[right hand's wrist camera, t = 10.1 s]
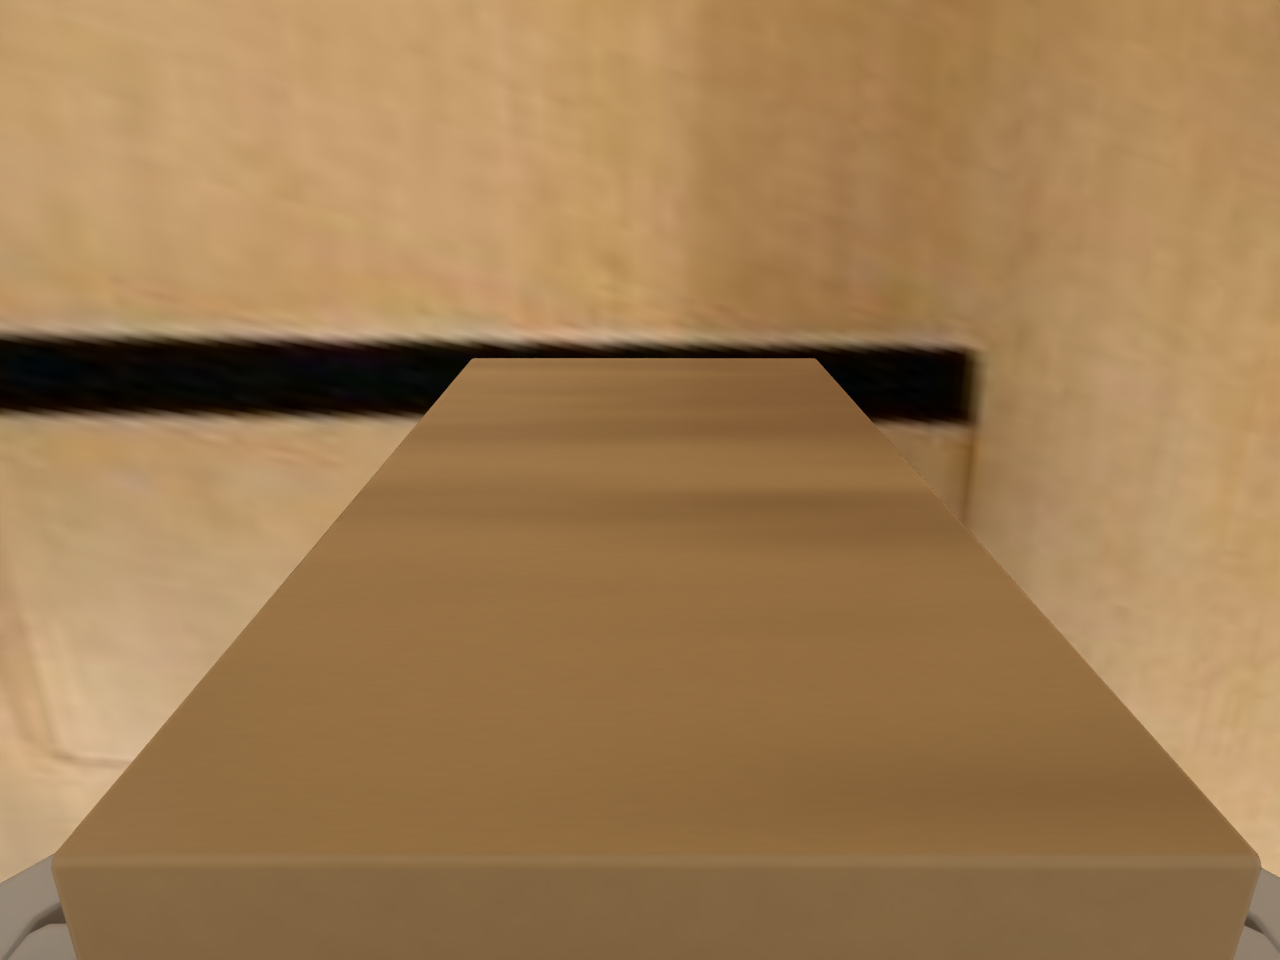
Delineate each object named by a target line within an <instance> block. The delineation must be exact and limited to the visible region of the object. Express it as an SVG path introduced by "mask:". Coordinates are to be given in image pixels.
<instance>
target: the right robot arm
mask: <svg viewBox="0 0 1280 960" xmlns="http://www.w3.org/2000/svg"><path fill="white" fill-rule="evenodd" d="M53 857H54V854H53V855H51V856H49V857H47V858H46V859H44V860H42V861H40V862H38V863H37V864H35V865H33V866H31V867H29V868H28V869H26V870H24V871H22V872H20V873H19V874H17V875H15V876H13V877H11V878H9V879H8V880H6V881H4V882H2V883H0V960H77V957H76V954H75V951H74V947H73V944H72V940H71V937H70V933H69V930H68V927H67V923H66V920H65V916H64V913H63V909H62V906H61V903H60V899H59V896H58V892H57V889H56V885H55V882H54V879H53V875H52V872H51V863H52V859H53ZM1233 960H1280V878H1279V877H1278V876H1276V875H1274V874H1272V873H1270V872H1268V871H1267V870H1265V869H1263V868H1262V869H1261V872H1260V875H1259V878H1258V882H1257V885H1256V888H1255V891H1254V894H1253V898H1252V901H1251V904H1250V907H1249V911H1248V914H1247V917H1246V920H1245V924H1244V927H1243V930H1242V933H1241V937H1240V940H1239V943H1238V946H1237V950H1236V953H1235V956H1234V959H1233Z"/></svg>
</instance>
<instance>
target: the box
mask: <svg viewBox="0 0 1280 960" xmlns="http://www.w3.org/2000/svg"><path fill="white" fill-rule="evenodd" d="M1261 869H1262V868H1261V861H1260V859H1259V856H1258V854H1257V853H1256V852H1255V851H1254V850H1253V849H1252V847H1251V846H1250V845H1249V844H1248V843H1247V842H1246V841H1245V840H1244V838H1243V837H1242V836H1241V835H1240V834H1239V833H1238V832H1237V831H1236V830H1235V828H1234V827H1233V826H1232V825H1231V824H1230V823H1229V822H1228V821H1227V819H1226V818H1225V817H1224V816H1223V815H1222V814H1221V813H1220V812H1219V810H1218V809H1217V808H1216V807H1215V806H1214V805H1213V804H1212V803H1211V801H1210V800H1209V799H1208V798H1207V797H1206V796H1205V795H1204V794H1203V793H1202V791H1201V790H1200V789H1199V788H1198V787H1197V786H1196V785H1195V784H1194V782H1193V781H1192V780H1191V779H1190V778H1189V777H1188V776H1187V775H1186V773H1185V772H1184V771H1183V770H1182V769H1181V768H1180V767H1179V766H1178V764H1177V763H1176V762H1175V761H1174V760H1173V759H1172V758H1171V757H1170V756H1169V754H1168V753H1167V752H1166V751H1165V750H1164V749H1163V748H1162V747H1161V745H1160V744H1159V743H1158V742H1157V741H1156V740H1155V739H1154V738H1153V736H1152V735H1151V734H1150V733H1149V732H1148V731H1147V730H1146V729H1145V728H1144V726H1143V725H1142V724H1141V723H1140V722H1139V721H1138V720H1137V719H1136V717H1135V716H1134V715H1133V714H1132V713H1131V712H1130V711H1129V710H1128V708H1127V707H1126V706H1125V705H1124V704H1123V703H1122V702H1121V701H1120V699H1119V698H1118V697H1117V696H1116V695H1115V694H1114V693H1113V692H1112V691H1111V689H1110V688H1109V687H1108V686H1107V685H1106V684H1105V683H1104V682H1103V680H1102V679H1101V678H1100V677H1099V676H1098V675H1097V674H1096V673H1095V671H1094V670H1093V669H1092V668H1091V667H1090V666H1089V665H1088V664H1087V662H1086V661H1085V660H1084V659H1083V658H1082V657H1081V656H1080V655H1079V654H1078V652H1077V651H1076V650H1075V649H1074V648H1073V647H1072V646H1071V645H1070V643H1069V642H1068V641H1067V640H1066V639H1065V638H1064V637H1063V636H1062V634H1061V633H1060V632H1059V631H1058V630H1057V629H1056V628H1055V627H1054V625H1053V624H1052V623H1051V622H1050V621H1049V620H1048V619H1047V618H1046V617H1045V615H1044V614H1043V613H1042V612H1041V611H1040V610H1039V609H1038V608H1037V606H1036V605H1035V604H1034V603H1033V602H1032V601H1031V600H1030V599H1029V597H1028V596H1027V595H1026V594H1025V593H1024V592H1023V591H1022V590H1021V589H1020V587H1019V586H1018V585H1017V584H1016V583H1015V582H1014V581H1013V580H1012V578H1011V577H1010V576H1009V575H1008V574H1007V573H1006V572H1005V571H1004V569H1003V568H1002V567H1001V566H1000V565H999V564H998V563H997V562H996V560H995V559H994V558H993V557H992V556H991V555H990V554H989V553H988V552H987V550H986V549H985V548H984V547H983V546H982V545H981V544H980V543H979V541H978V540H977V539H976V538H975V537H974V536H973V535H972V534H971V532H970V531H969V530H968V529H967V528H966V527H965V526H964V525H963V523H962V522H961V521H960V520H959V519H958V518H957V517H956V516H955V515H954V513H953V512H952V511H951V510H950V509H949V508H948V507H947V506H946V504H945V503H944V502H943V501H942V500H941V499H940V498H939V497H938V495H937V494H936V493H935V492H934V491H933V490H932V489H931V488H930V486H929V485H928V484H927V483H926V482H925V481H924V480H923V479H922V478H921V476H920V475H919V474H918V473H917V472H916V471H915V470H914V469H913V467H912V466H911V465H910V464H909V463H908V462H907V461H906V460H905V458H904V457H903V456H902V455H901V454H900V453H899V452H898V451H897V449H896V448H895V447H894V446H893V445H892V444H891V443H890V442H889V441H888V439H887V438H886V437H885V436H884V435H883V434H882V433H881V432H880V430H879V429H878V428H877V427H876V426H875V425H874V424H873V423H872V421H871V420H870V419H869V418H868V417H867V416H866V415H865V414H864V413H863V411H862V410H861V409H860V408H859V407H858V406H857V405H856V404H855V402H854V401H853V400H852V399H851V398H850V397H849V396H848V395H847V393H846V392H845V391H844V390H843V389H842V388H841V387H840V386H839V384H838V383H837V382H836V381H835V380H834V379H833V378H832V377H831V376H830V374H829V373H828V372H827V371H826V370H825V369H824V368H823V367H822V365H821V364H820V363H819V362H818V361H817V360H816V359H697V358H474V359H472V360H471V361H470V362H469V363H468V364H467V366H466V367H465V368H464V369H463V370H462V372H461V373H460V374H459V375H458V376H457V377H456V379H455V380H454V381H453V382H452V383H451V385H450V386H449V387H448V388H447V389H446V391H445V392H444V393H443V394H442V395H441V396H440V398H439V399H438V400H437V401H436V402H435V404H434V405H433V406H432V407H431V408H430V410H429V411H428V412H427V413H426V414H425V415H424V417H423V418H422V419H421V420H420V421H419V423H418V424H417V425H416V426H415V427H414V429H413V430H412V431H411V432H410V433H409V434H408V436H407V437H406V438H405V439H404V440H403V442H402V443H401V444H400V445H399V446H398V448H397V449H396V450H395V451H394V452H393V453H392V455H391V456H390V457H389V458H388V459H387V461H386V462H385V463H384V464H383V465H382V466H381V468H380V469H379V470H378V471H377V472H376V474H375V475H374V476H373V477H372V478H371V480H370V481H369V482H368V483H367V484H366V485H365V487H364V488H363V489H362V490H361V491H360V493H359V494H358V495H357V496H356V497H355V499H354V500H353V501H352V502H351V503H350V504H349V506H348V507H347V508H346V509H345V510H344V512H343V513H342V514H341V515H340V516H339V518H338V519H337V520H336V521H335V522H334V523H333V525H332V526H331V527H330V528H329V529H328V531H327V532H326V533H325V534H324V535H323V536H322V538H321V539H320V540H319V541H318V542H317V544H316V545H315V546H314V547H313V548H312V550H311V551H310V552H309V553H308V554H307V555H306V557H305V558H304V559H303V560H302V561H301V563H300V564H299V565H298V566H297V567H296V569H295V570H294V571H293V572H292V573H291V574H290V576H289V577H288V578H287V579H286V580H285V582H284V583H283V584H282V585H281V586H280V588H279V589H278V590H277V591H276V592H275V593H274V595H273V596H272V597H271V598H270V599H269V601H268V602H267V603H266V604H265V605H264V607H263V608H262V609H261V610H260V611H259V612H258V614H257V615H256V616H255V617H254V618H253V620H252V621H251V622H250V623H249V624H248V625H247V627H246V628H245V629H244V630H243V631H242V633H241V634H240V635H239V636H238V637H237V639H236V640H235V641H234V642H233V643H232V644H231V646H230V647H229V648H228V649H227V650H226V652H225V653H224V654H223V655H222V656H221V658H220V659H219V660H218V661H217V662H216V663H215V665H214V666H213V667H212V668H211V669H210V671H209V672H208V673H207V674H206V675H205V677H204V678H203V679H202V680H201V681H200V682H199V684H198V685H197V686H196V687H195V688H194V690H193V691H192V692H191V693H190V694H189V695H188V697H187V698H186V699H185V700H184V701H183V703H182V704H181V705H180V706H179V707H178V709H177V710H176V711H175V712H174V713H173V714H172V716H171V717H170V718H169V719H168V720H167V722H166V723H165V724H164V725H163V726H162V728H161V729H160V730H159V731H158V732H157V733H156V735H155V736H154V737H153V738H152V739H151V741H150V742H149V743H148V744H147V745H146V747H145V748H144V749H143V750H142V751H141V752H140V754H139V755H138V756H137V757H136V758H135V760H134V761H133V762H132V763H131V764H130V765H129V767H128V768H127V769H126V770H125V771H124V773H123V774H122V775H121V776H120V777H119V779H118V780H117V781H116V782H115V783H114V784H113V786H112V787H111V788H110V789H109V790H108V792H107V793H106V794H105V795H104V796H103V798H102V799H101V800H100V801H99V802H98V803H97V805H96V806H95V807H94V808H93V809H92V811H91V812H90V813H89V814H88V815H87V817H86V818H85V819H84V820H83V821H82V822H81V824H80V825H79V826H78V827H77V828H76V830H75V831H74V832H73V833H72V834H71V836H70V837H69V838H68V839H67V840H66V841H65V843H64V844H63V845H62V846H61V847H60V849H59V850H58V851H57V852H56V853H55V854H54V857H53V859H52V863H51V872H52V875H53V879H54V882H55V885H56V889H57V892H58V896H59V899H60V903H61V906H62V909H63V913H64V916H65V920H66V923H67V927H68V930H69V933H70V937H71V940H72V944H73V947H74V951H75V954H76V957H77V960H1233V959H1234V956H1235V953H1236V950H1237V946H1238V943H1239V940H1240V937H1241V933H1242V930H1243V927H1244V924H1245V920H1246V917H1247V914H1248V911H1249V907H1250V904H1251V901H1252V898H1253V894H1254V891H1255V888H1256V885H1257V882H1258V878H1259V875H1260V872H1261Z"/></svg>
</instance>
